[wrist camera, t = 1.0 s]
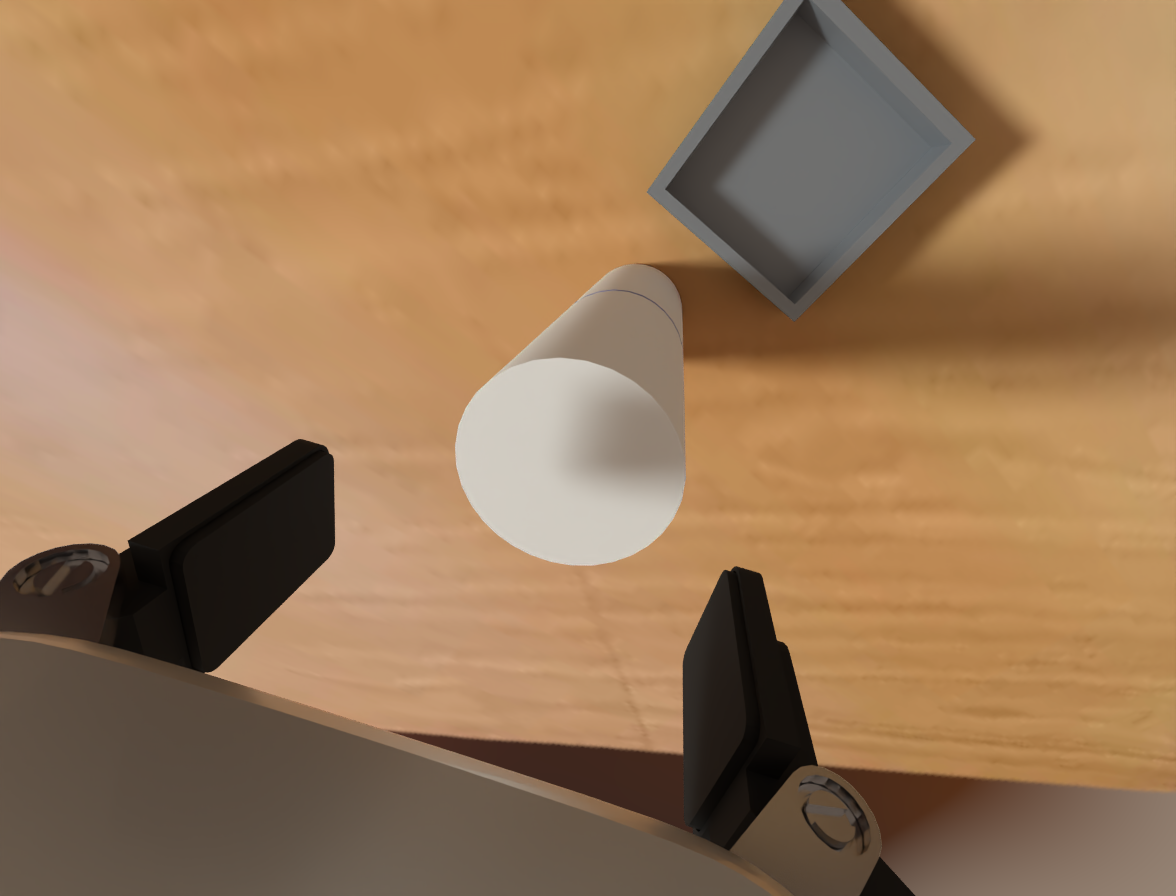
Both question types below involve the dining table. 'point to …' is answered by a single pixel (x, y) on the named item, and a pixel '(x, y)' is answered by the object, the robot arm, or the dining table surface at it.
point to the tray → (808, 153)
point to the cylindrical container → (585, 427)
